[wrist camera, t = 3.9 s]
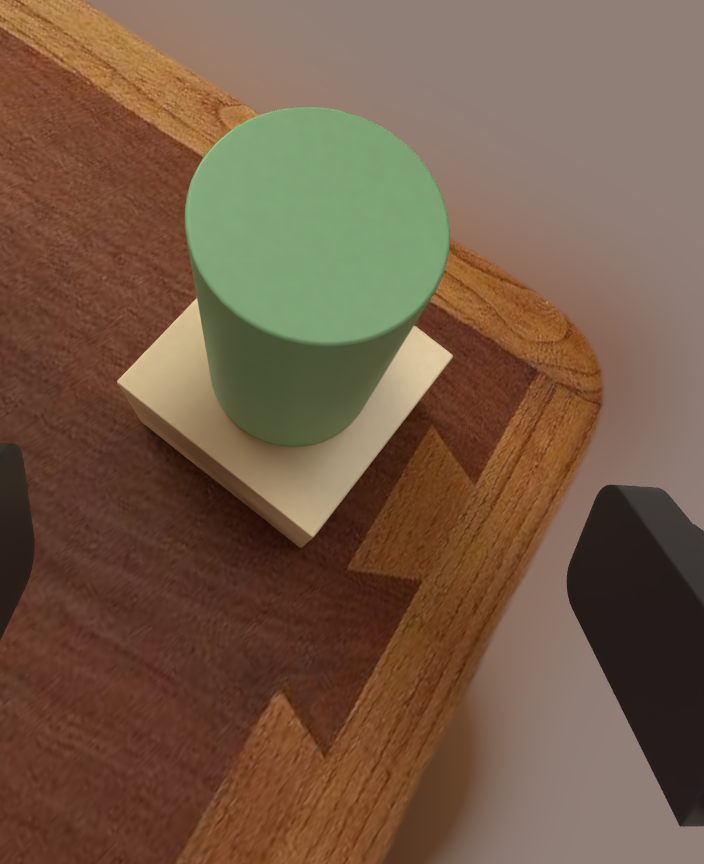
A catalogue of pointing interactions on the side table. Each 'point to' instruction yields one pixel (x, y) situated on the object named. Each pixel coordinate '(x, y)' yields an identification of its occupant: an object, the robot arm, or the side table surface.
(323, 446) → the maple block
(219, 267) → the green canister
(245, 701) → the side table surface
